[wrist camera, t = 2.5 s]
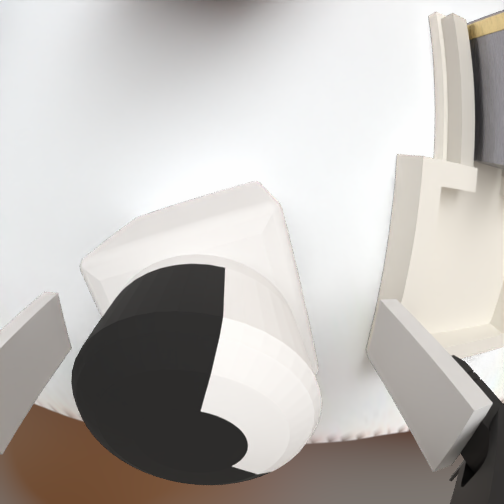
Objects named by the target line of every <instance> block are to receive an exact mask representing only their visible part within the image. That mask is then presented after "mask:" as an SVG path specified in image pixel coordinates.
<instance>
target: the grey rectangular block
mask: <svg viewBox="0 0 504 504" xmlns="http://www.w3.org/2000/svg"><path fill="white" fill-rule="evenodd" d="M467 29H468V35H469V42H470V49H471V58H472V68H473V80H474V99H475V143H474V162H478V163H482V164H486V165H489V166H493V167H496V168H499V169H504V10H502V11H499V12H496V13H493V14H491V15H488V16H485V17H482V18H480V19H477V20H474V21H472V22H469V23H467Z"/></svg>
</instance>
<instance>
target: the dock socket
mask: <svg viewBox="0 0 504 504" xmlns="http://www.w3.org/2000/svg"><path fill="white" fill-rule="evenodd" d="M429 23H430V30H431V39H432V49H433V61H434V77H435V146H434V158H430V157H425V156H415V155H402V154H397V163H396V177H395V188H394V198H393V207H392V216H391V224H390V231H389V238H388V245H387V252H386V258H385V264H384V269H383V275H382V280H381V286H380V291H379V296H378V301H377V305H376V310H375V314H374V319H373V323H372V328H371V332H370V336H369V340H368V344H367V348H366V351H367V352H368V350H369V346H370V342H371V338H372V334H373V330H374V326H375V321H376V317H377V312H378V308H379V303H380V300H384V299H397V300H398V301H399V302H400V303H401V304H402V305H403V306H404V307H405V308H406V309H407V310H408V311H409V312H410V313H411V314H412V315H413V316H414V317H415V318H416V319H417V320H418V321H419V322H420V323H421V325H422V326H423V327H424V328H425V329H426V330H427V331H428V332H429V333H430V334H431V335H432V336H433V337H434V338H435V339H436V340H437V341H438V342H439V343H440V344H441V345H442V347H443V348H444V349H445V350H446V351H447V352H448V353H449V354H450V355H455V356H456V357H458V358H460V359H461V358H465V357H469V356H473V355H477V354H481V353H484V352H488V351H491V350H495V349H498V348H502V347H504V169H499V168H496V167H493V166H489V165H486V164H482V163H478V162H474V143H475V99H474V80H473V68H472V58H471V49H470V42H469V35H468V29H467V23H466V19H464V18H462V17H460V16H458V15H456V14H454V13H452V14H450V15H448V16H445V15H442V14H440V13H438V12H434V13H433V14H431V15H429Z"/></svg>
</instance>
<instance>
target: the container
mask: <svg viewBox="0 0 504 504" xmlns="http://www.w3.org/2000/svg"><path fill="white" fill-rule="evenodd" d="M80 270H81V273H82V275H83V277H84V280H85V282H86V284H87V287H88V289H89V291H90V293H91V295H92V297H93V300H94V302H95V304H96V306H97V308H98V310H99V312H100V314H101V316H102V318H101V320H100V321H99V323H98V324H97V325H96V327H95V328H94V330H93V331H92V333H91V334H90V336H89V337H88V339H87V340H86V342H85V343H84V345H83V346H82V348H81V350H80V352H79V354H78V355H77V357H76V359H75V362H74V366H73V370H72V390H73V395H74V399H75V402H76V405H77V407H78V410H79V412H80V415H81V417H82V419H83V421H84V422H85V424H86V426H87V428H88V429H89V430H90V432H91V433H92V434H93V435H94V437H95V438H96V439H97V440H98V441H99V442H100V443H101V444H102V445H103V446H104V447H105V448H106V449H107V450H109V451H110V452H111V453H112V454H113V455H115V456H116V457H118V458H119V459H121V460H122V461H124V462H125V463H127V464H129V465H131V466H132V467H135V468H136V469H139V470H141V471H143V472H145V473H148V474H151V475H153V476H156V477H160V478H163V479H166V480H170V481H175V482H181V483H187V484H195V485H223V484H231V483H238V482H243V481H247V480H251V479H254V478H257V477H260V476H263V475H265V474H268V473H270V472H272V471H274V470H276V469H278V468H279V467H281V466H283V465H284V464H286V463H287V462H288V461H290V460H291V459H292V458H293V457H294V456H295V455H297V453H298V452H300V450H301V449H302V448H303V447H304V445H305V444H306V443H307V441H308V440H309V439H310V437H311V436H312V434H313V433H314V431H315V429H316V427H317V425H318V422H319V418H320V415H321V407H322V399H321V392H320V388H319V385H318V382H317V379H316V377H315V375H316V374H317V373H318V361H317V356H316V352H315V347H314V342H313V337H312V333H311V328H310V323H309V319H308V314H307V310H306V305H305V301H304V296H303V292H302V287H301V283H300V279H299V274H298V270H297V266H296V262H295V257H294V253H293V249H292V245H291V241H290V237H289V233H288V229H287V225H286V221H285V217H284V213H283V209H282V207H281V205H280V203H279V202H278V201H277V200H276V199H275V198H274V197H273V196H272V195H271V194H270V193H269V191H268V190H267V189H266V188H265V187H264V186H263V185H262V184H261V183H260V182H258V181H252V182H249V183H245V184H242V185H238V186H235V187H231V188H228V189H224V190H221V191H217V192H214V193H211V194H207V195H204V196H201V197H197V198H194V199H191V200H188V201H185V202H181V203H178V204H175V205H172V206H169V207H166V208H163V209H160V210H157V211H154V212H151V213H148V214H145V215H142V216H139V217H136V218H135V219H133V220H132V221H131V222H129V223H128V224H127V225H125V226H124V227H123V228H121V229H120V230H119V231H117V232H116V233H115V234H113V235H112V236H111V237H109V238H108V239H107V240H106V241H104V242H103V243H102V244H100V245H99V246H98V247H97V248H95V249H94V250H93V251H92V252H90V253H89V254H88V255H87V256H85V257H84V258H83V259H82V261H81V263H80Z"/></svg>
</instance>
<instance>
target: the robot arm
mask: <svg viewBox="0 0 504 504" xmlns="http://www.w3.org/2000/svg"><path fill="white" fill-rule="evenodd" d="M71 349H72V347H71V344H70V340H69V337H68V333H67V329H66V325H65V321H64V317H63V313H62V309H61V304H60V300H59V295H58V293H53V292H43V293H42V294H41V295H40V296H39V297H38V298H36V299H35V300H34V301H33V302H32V303H31V304H29V305H28V306H27V307H26V308H25V309H24V310H23V311H21V312H20V313H19V314H18V315H17V316H16V317H15V318H14V319H12V320H11V321H10V322H9V323H8V324H7V325H6V326H5V327H4V328H3V329H2V330H0V454H3V453H4V451H5V449H6V447H7V446H8V444H9V442H10V441H11V439H12V437H13V436H14V434H15V432H16V431H17V429H18V427H19V426H20V424H21V422H22V421H23V419H24V418H25V416H26V415H27V413H28V412H29V410H30V408H31V407H32V405H33V404H34V402H35V401H36V399H37V398H38V396H39V395H40V393H41V392H42V390H43V389H44V387H45V386H46V384H47V383H48V381H49V380H50V378H51V377H52V376H53V374H54V373H55V371H56V370H57V368H58V367H59V366H60V364H61V363H62V361H63V360H64V359H65V357H66V356H67V354H68V353H69V352H70V350H71ZM367 356H368V358H369V360H370V361H371V363H372V365H373V366H374V368H375V370H376V371H377V373H378V375H379V377H380V378H381V380H382V382H383V383H384V385H385V387H386V389H387V390H388V392H389V394H390V395H391V397H392V399H393V401H394V402H395V404H396V406H397V408H398V409H399V411H400V413H401V415H402V416H403V418H404V420H405V422H406V424H407V425H408V427H409V429H410V431H411V433H412V434H413V436H414V438H415V440H416V442H417V443H418V445H419V447H420V449H421V451H422V453H423V454H424V456H425V458H426V460H427V462H428V464H429V466H430V467H431V469H432V471H433V472H435V471H438V470H440V469H443V468H446V467H448V466H450V465H452V464H453V463H454V461H455V460H456V459H457V457H458V456H459V455H460V453H461V455H462V456H463V458H464V461H463V462H462V463H461V465H460V466H459V467H458V468H457V470H456V471H455V472H454V473H453V475H452V476H451V478H450V481H452V480H453V479H454V478H455V477H456V476H457V475H458V477H457V481H456V485H455V489H454V492H453V496H452V499H451V502H450V504H504V404H503V403H502V402H501V401H500V400H499V399H498V398H497V396H496V395H495V394H494V393H493V392H492V391H491V390H490V388H489V387H488V386H487V385H486V384H485V383H484V382H483V381H482V380H480V377H479V376H478V375H477V374H476V373H475V372H474V373H473V370H472V369H471V368H470V366H469V365H468V364H467V363H466V362H465V361H463V360H461V359H460V358H458V357H456V356H455V355H450V354H449V353H448V352H447V351H446V350H445V349H444V348H443V347H442V345H441V344H440V343H439V342H438V341H437V340H436V339H435V338H434V337H433V336H432V335H431V334H430V333H429V332H428V331H427V330H426V329H425V328H424V327H423V326H422V325H421V323H420V322H419V321H418V320H417V319H416V318H415V317H414V316H413V315H412V314H411V313H410V312H409V311H408V310H407V309H406V308H405V307H404V306H403V305H402V304H401V303H400V302H399V301H398V300H397V299H384V300H380V303H379V308H378V312H377V317H376V321H375V326H374V330H373V334H372V338H371V342H370V346H369V350H368V354H367Z"/></svg>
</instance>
